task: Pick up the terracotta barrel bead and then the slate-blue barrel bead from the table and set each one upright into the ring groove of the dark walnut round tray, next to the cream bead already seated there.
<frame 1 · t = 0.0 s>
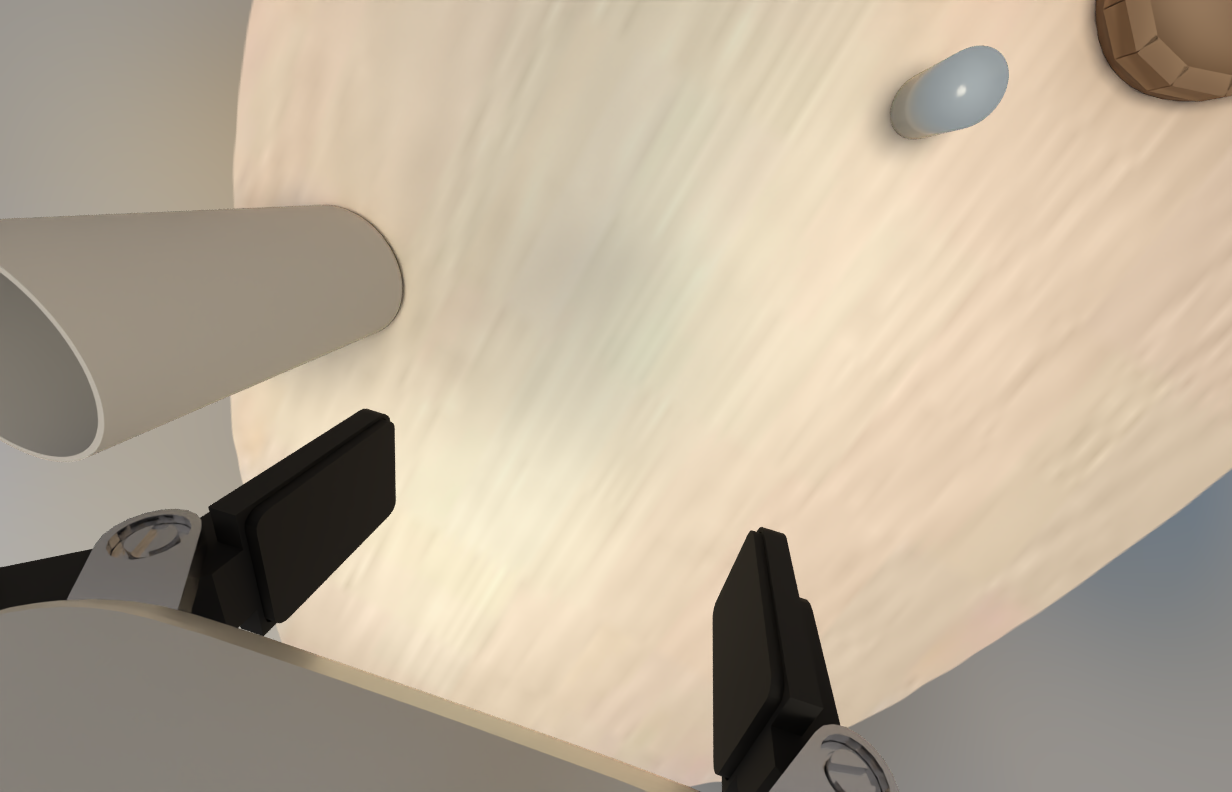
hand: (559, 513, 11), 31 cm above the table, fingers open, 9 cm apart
cylinder vase: (350, 272, 45), on the table
bead slate: (922, 106, 31), on the table
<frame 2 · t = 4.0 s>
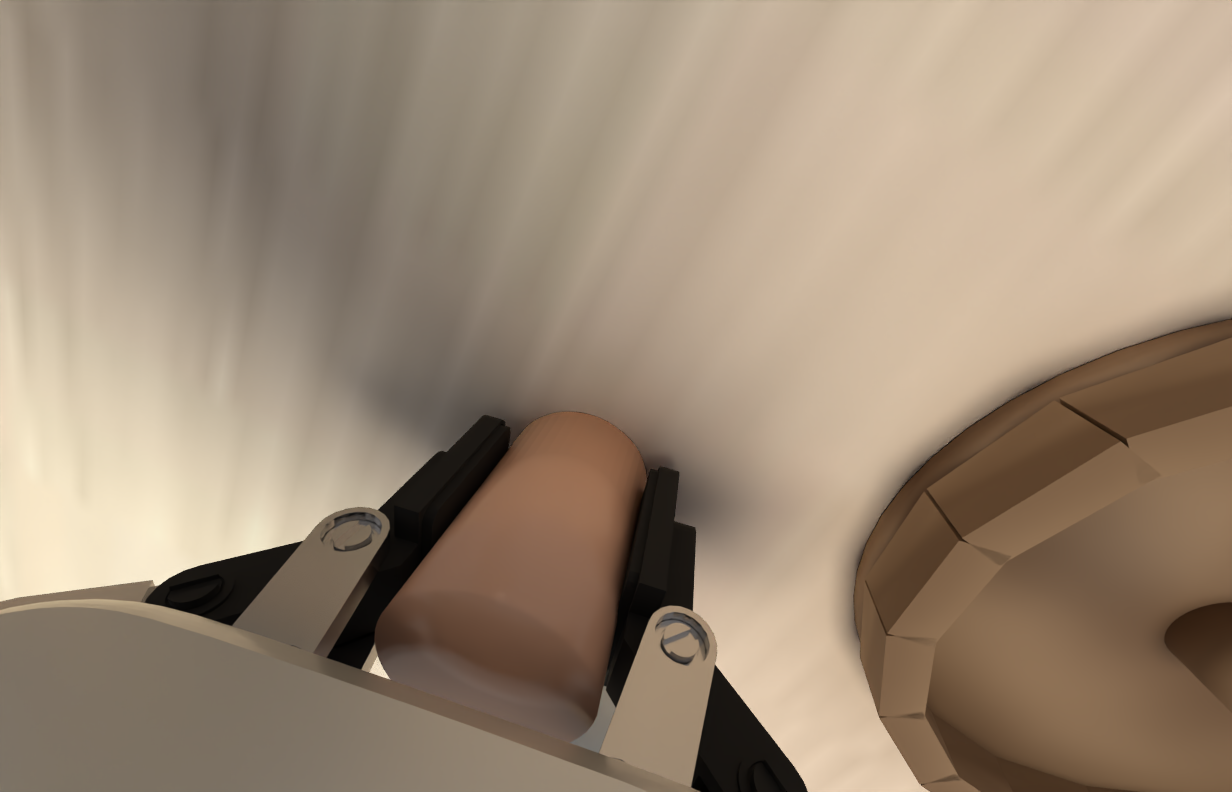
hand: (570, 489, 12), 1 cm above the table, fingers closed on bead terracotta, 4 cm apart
groove tray: (1187, 604, 11), on the table
bead terracotta: (577, 473, 13), on the table, touching gripper
bead slate: (587, 676, 17), on the table
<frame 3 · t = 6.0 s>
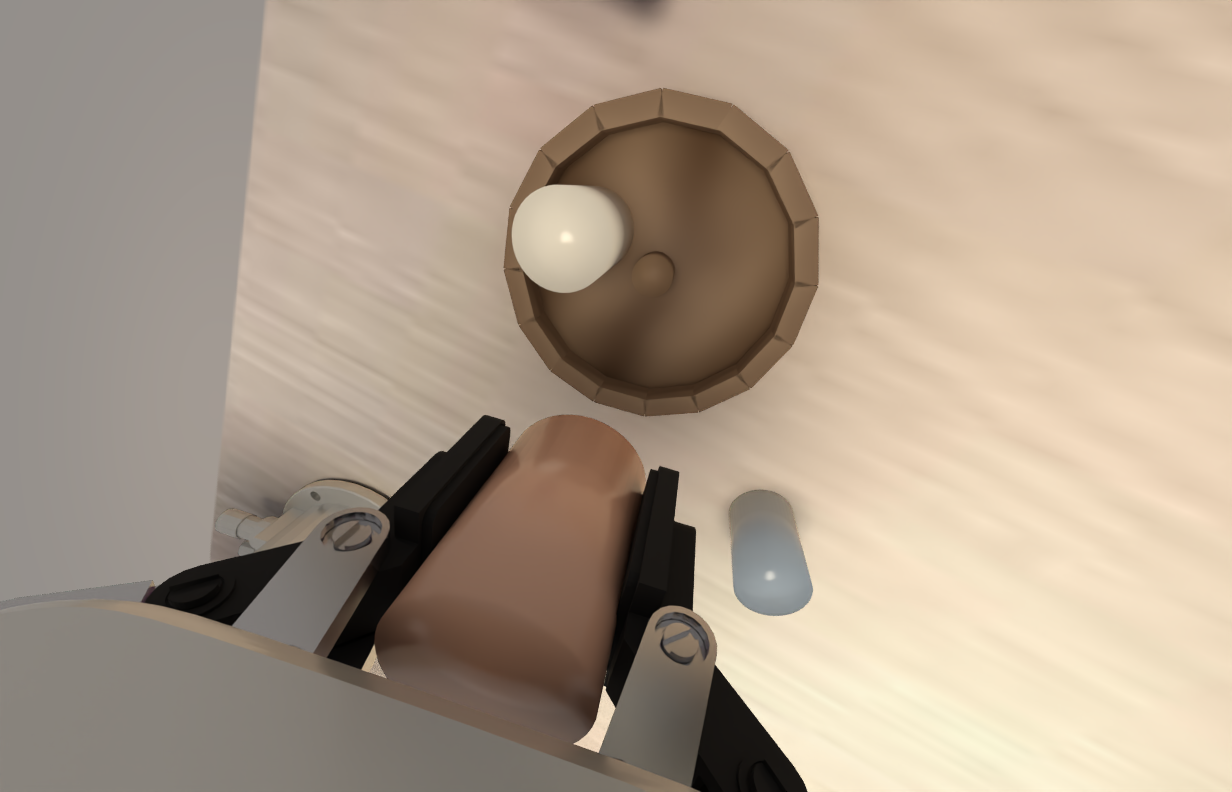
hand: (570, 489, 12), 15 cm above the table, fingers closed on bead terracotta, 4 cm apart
bead cream: (595, 229, 23), point 1 cm above the table, touching groove tray
groove tray: (657, 268, 24), on the table
bead terracotta: (577, 476, 13), point 14 cm above the table, touching gripper
bead slate: (760, 515, 29), on the table
when the fingers open (3 cm above the table, at t = 8.3 s): bead terracotta drops 2 cm, resting on groove tray.
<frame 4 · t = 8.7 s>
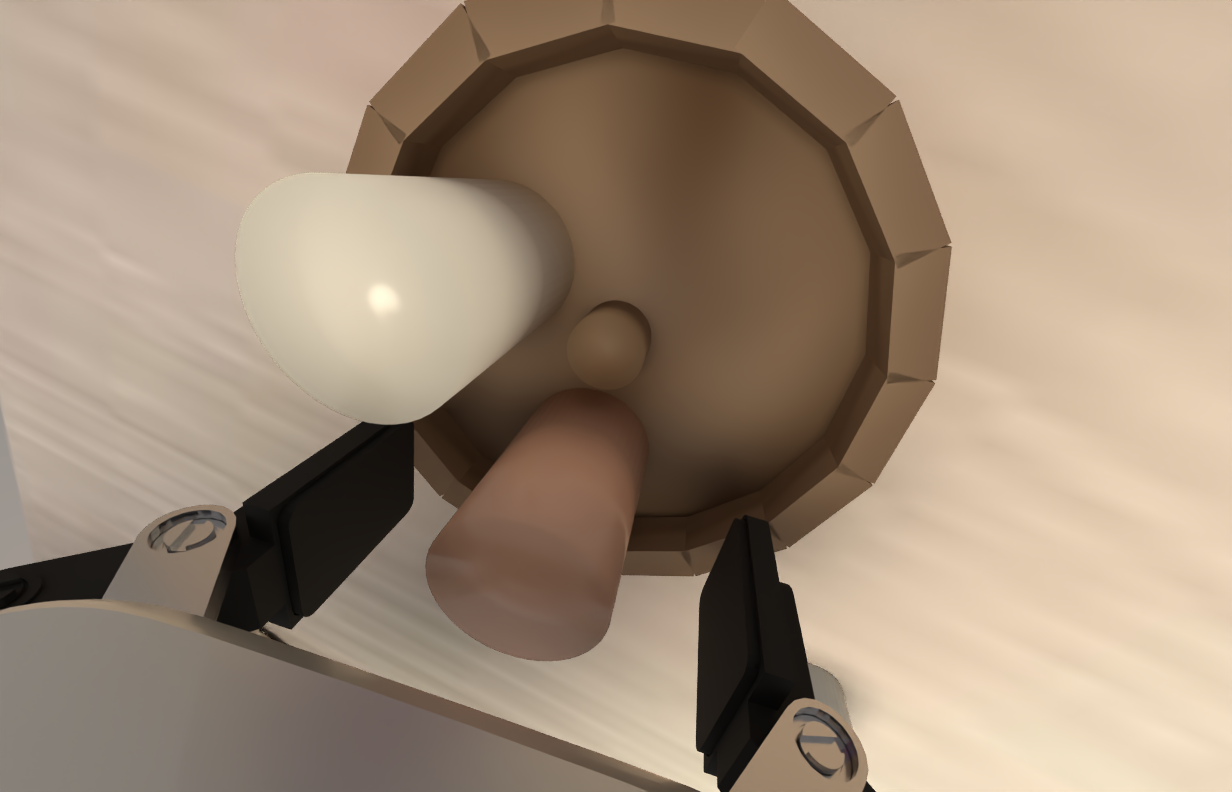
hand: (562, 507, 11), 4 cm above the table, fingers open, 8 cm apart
bead cream: (505, 259, 12), point 1 cm above the table, touching groove tray
groove tray: (621, 327, 13), on the table
bead terracotta: (587, 444, 14), point 1 cm above the table, touching groove tray
bead slate: (791, 692, 19), on the table
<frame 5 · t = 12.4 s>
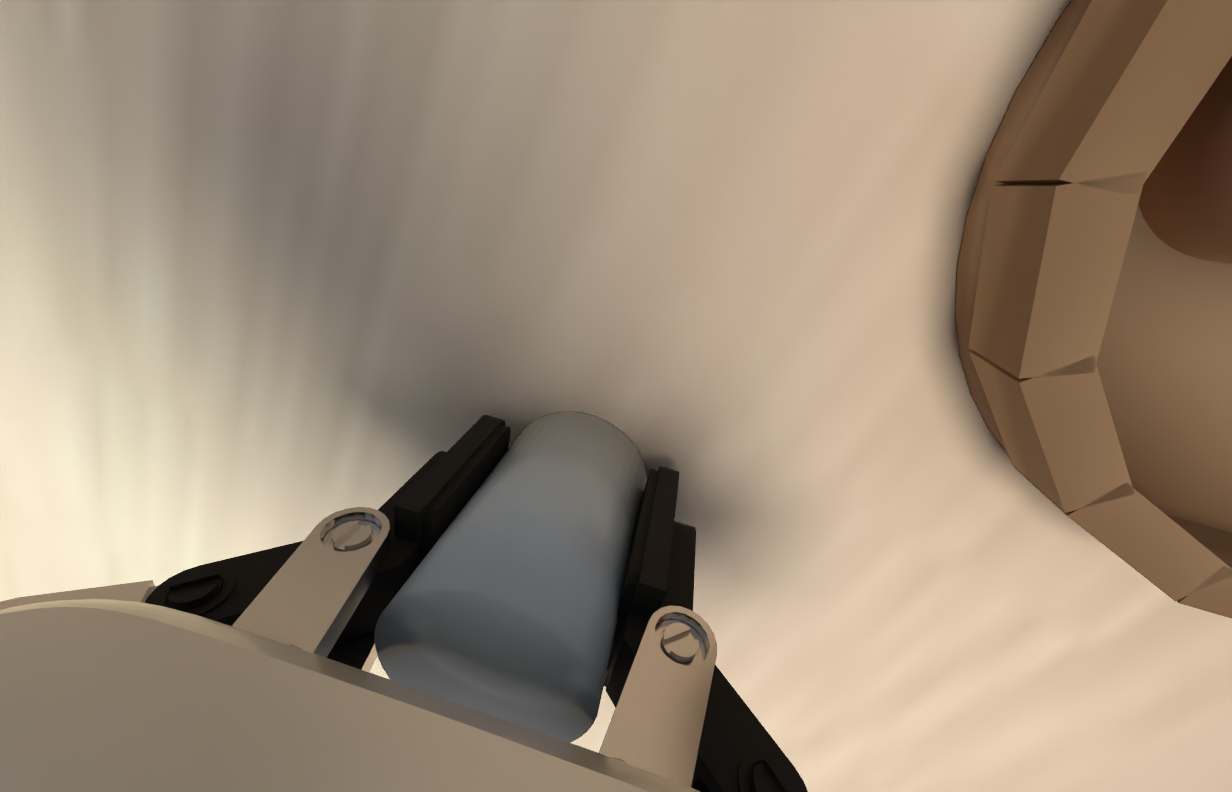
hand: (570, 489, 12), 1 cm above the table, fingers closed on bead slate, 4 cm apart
bead slate: (577, 473, 13), on the table, touching gripper
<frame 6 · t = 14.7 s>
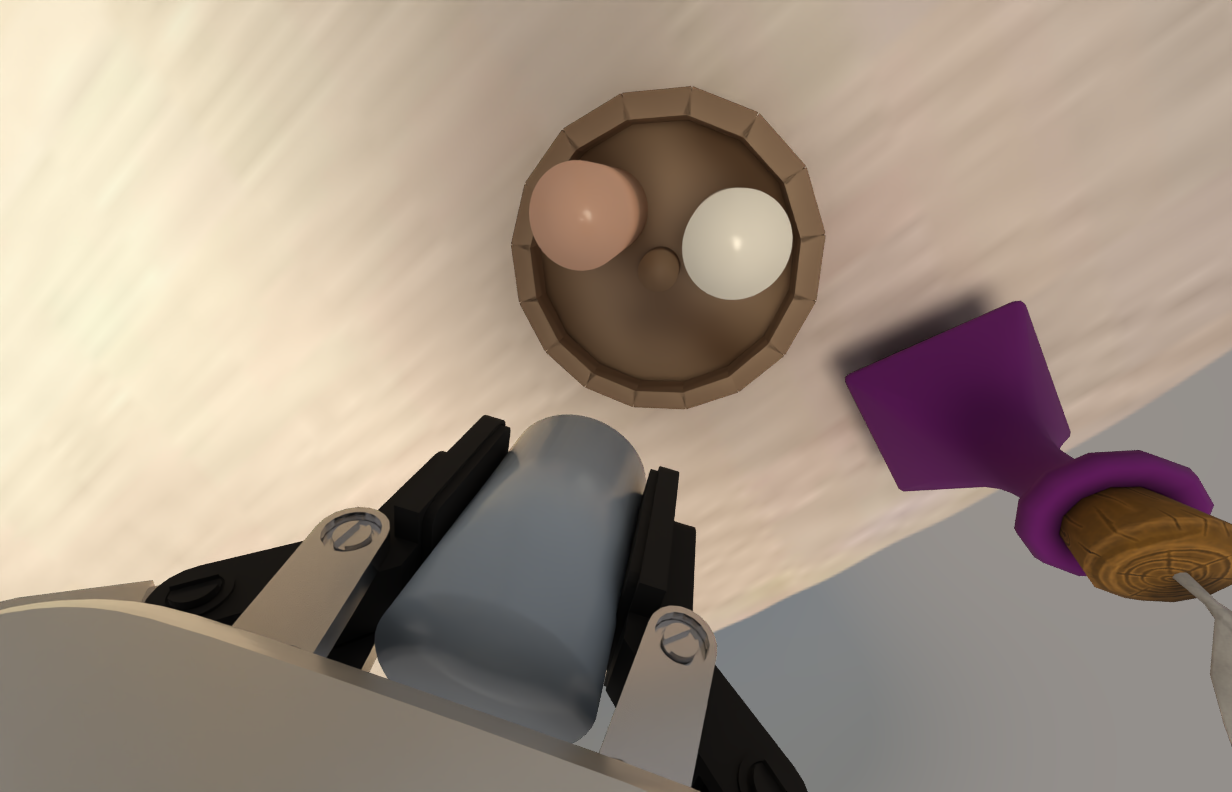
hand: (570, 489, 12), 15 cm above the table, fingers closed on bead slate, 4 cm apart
bead cream: (729, 232, 22), point 1 cm above the table, touching groove tray
perfume bottle: (923, 378, 24), on the table
groove tray: (662, 264, 24), on the table
bead terracotta: (609, 210, 23), point 1 cm above the table, touching groove tray
bead slate: (577, 476, 13), point 15 cm above the table, touching gripper
when the fingers open (3 cm above the table, at t = 17.2 s): bead slate drops 2 cm, resting on groove tray.
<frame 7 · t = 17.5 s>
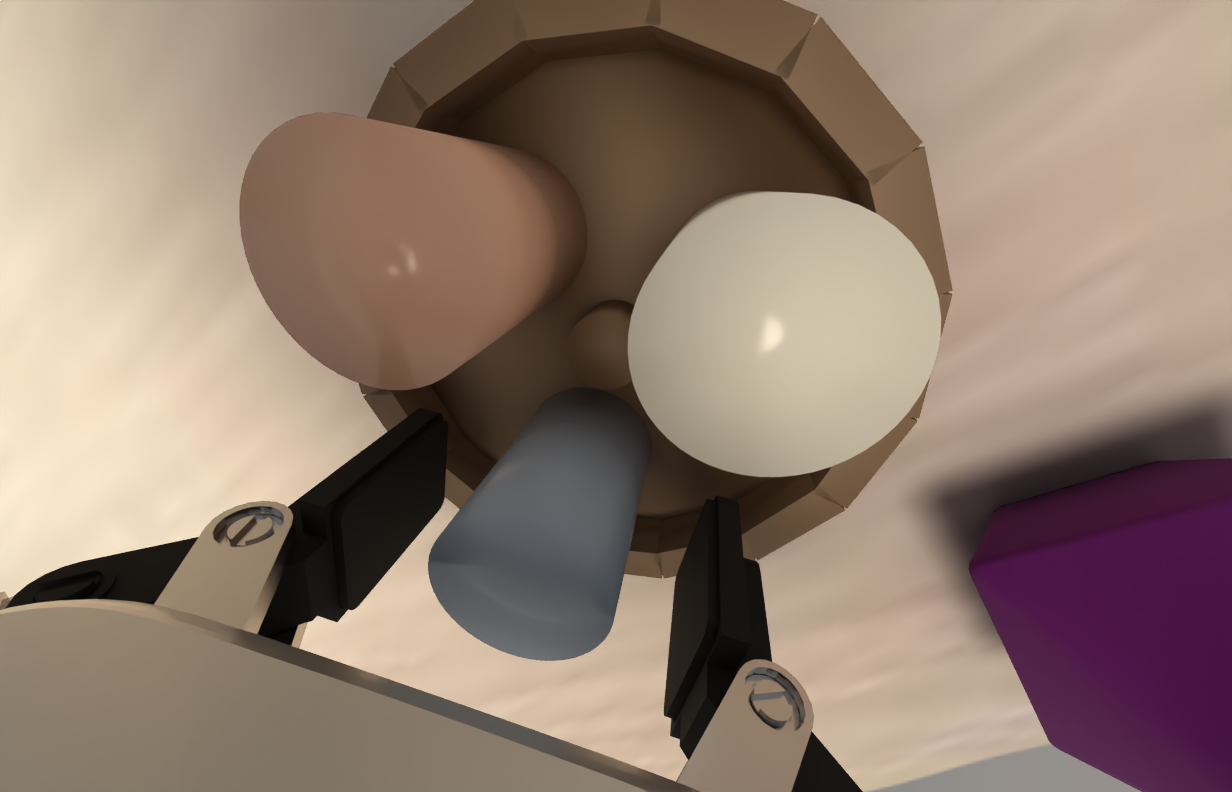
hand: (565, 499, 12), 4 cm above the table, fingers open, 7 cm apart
bead cream: (743, 276, 11), point 1 cm above the table, touching groove tray
perfume bottle: (1086, 531, 14), on the table
groove tray: (620, 326, 13), on the table
bead terracotta: (515, 232, 12), point 1 cm above the table, touching groove tray
bead slate: (589, 443, 14), point 1 cm above the table, touching groove tray
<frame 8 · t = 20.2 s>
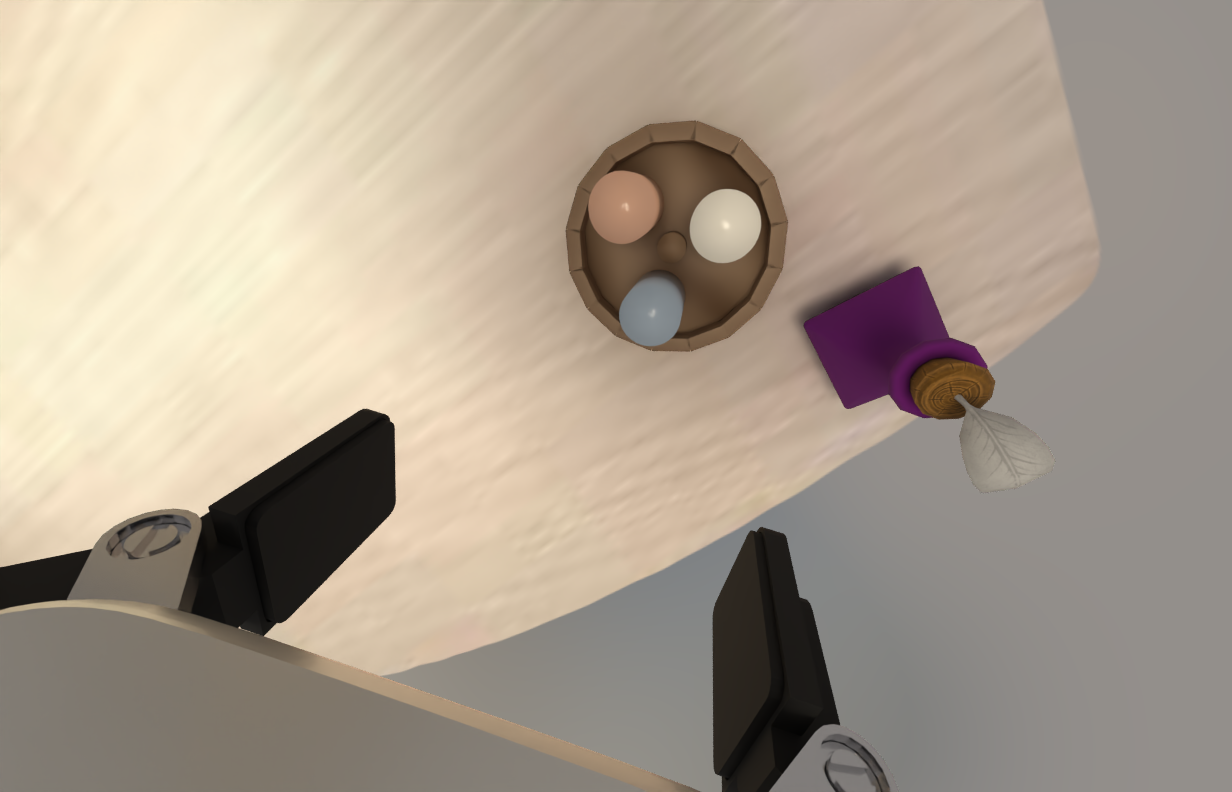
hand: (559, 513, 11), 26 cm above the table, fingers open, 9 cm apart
bead cream: (722, 220, 31), point 1 cm above the table, touching groove tray
perfume bottle: (864, 328, 33), on the table
groove tray: (673, 244, 33), on the table
bead terracotta: (636, 205, 32), point 1 cm above the table, touching groove tray
bead slate: (659, 296, 34), point 1 cm above the table, touching groove tray
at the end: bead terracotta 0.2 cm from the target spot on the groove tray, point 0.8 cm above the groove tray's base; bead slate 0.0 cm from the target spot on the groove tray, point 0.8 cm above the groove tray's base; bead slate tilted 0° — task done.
